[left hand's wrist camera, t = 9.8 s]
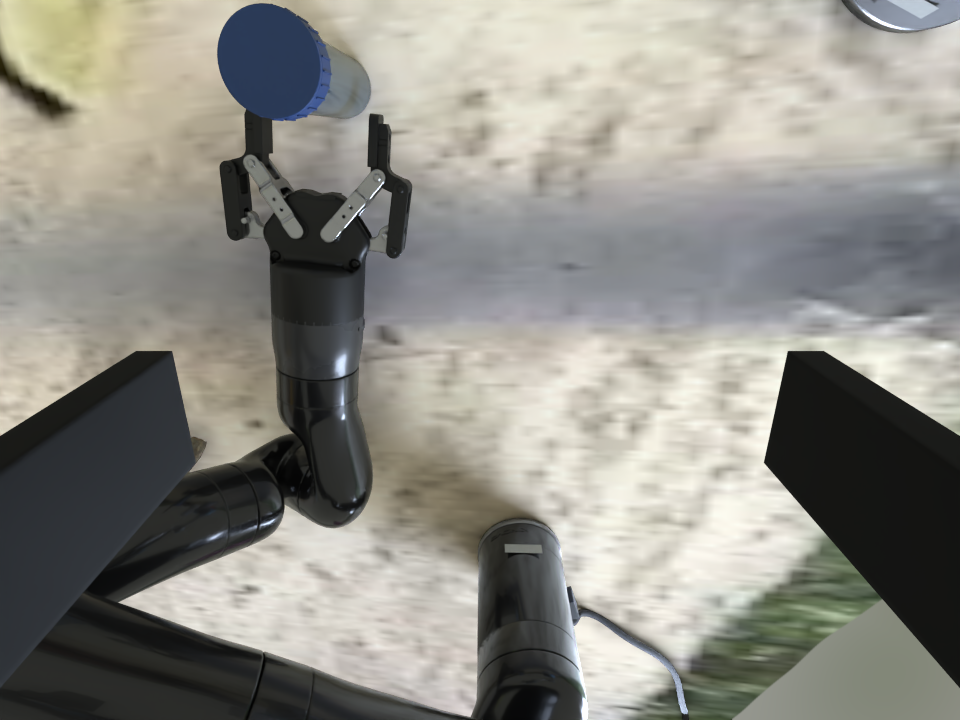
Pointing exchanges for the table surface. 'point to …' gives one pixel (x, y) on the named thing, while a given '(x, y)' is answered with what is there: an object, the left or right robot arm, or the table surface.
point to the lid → (273, 62)
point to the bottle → (344, 87)
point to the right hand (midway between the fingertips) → (319, 107)
